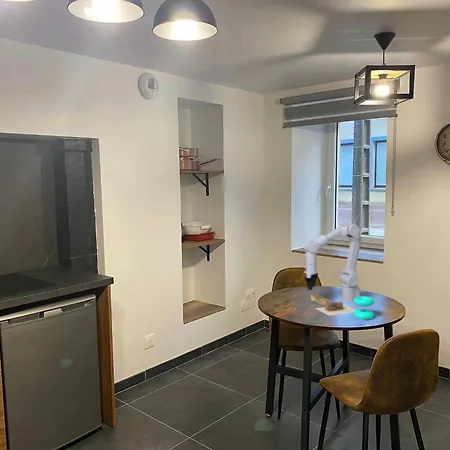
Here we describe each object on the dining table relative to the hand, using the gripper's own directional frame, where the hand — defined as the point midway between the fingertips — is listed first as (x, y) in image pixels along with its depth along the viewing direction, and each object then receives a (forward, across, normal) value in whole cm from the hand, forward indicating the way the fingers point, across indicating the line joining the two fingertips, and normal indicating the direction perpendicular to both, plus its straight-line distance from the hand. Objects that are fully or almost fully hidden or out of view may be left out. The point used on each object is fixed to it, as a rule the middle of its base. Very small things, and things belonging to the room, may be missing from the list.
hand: (311, 288), depth 256 cm
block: (+9, +7, +13) cm, 18 cm away
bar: (+10, -6, +4) cm, 12 cm away
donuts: (+10, +15, +29) cm, 34 cm away
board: (+10, +8, +15) cm, 19 cm away
